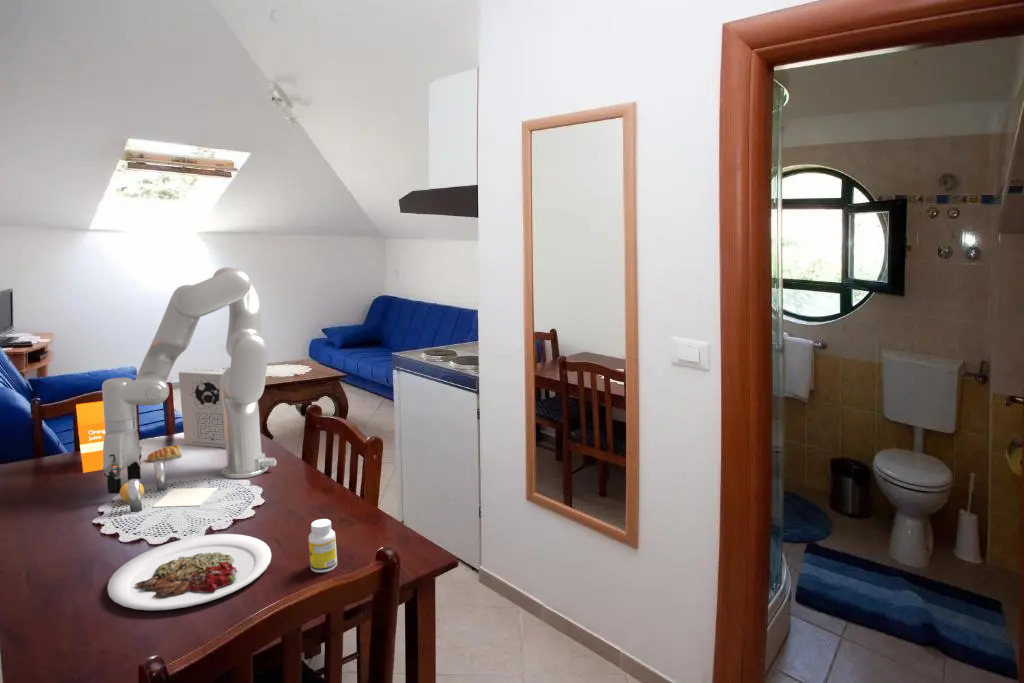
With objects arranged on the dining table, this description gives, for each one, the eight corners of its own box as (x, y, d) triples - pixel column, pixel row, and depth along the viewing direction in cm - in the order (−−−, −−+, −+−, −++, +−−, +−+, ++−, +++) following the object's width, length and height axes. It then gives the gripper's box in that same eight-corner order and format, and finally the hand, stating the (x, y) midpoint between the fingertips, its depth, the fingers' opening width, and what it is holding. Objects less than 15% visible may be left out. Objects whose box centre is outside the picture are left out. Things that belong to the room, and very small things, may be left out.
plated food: (163, 541, 147) (162, 527, 147) (293, 542, 146) (292, 528, 146) (71, 616, 118) (69, 599, 117) (232, 619, 117) (231, 601, 116)
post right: (168, 488, 178) (166, 460, 177) (164, 491, 175) (161, 463, 174) (159, 488, 178) (156, 460, 176) (154, 492, 175) (151, 464, 174)
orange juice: (117, 467, 195) (111, 402, 192) (82, 472, 190) (75, 407, 187) (116, 459, 201) (109, 397, 198) (82, 465, 196) (75, 401, 193)
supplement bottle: (313, 561, 137) (310, 517, 135) (339, 560, 137) (337, 516, 136) (307, 574, 132) (304, 529, 130) (334, 572, 132) (332, 527, 131)
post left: (144, 508, 164) (141, 478, 163) (139, 512, 162) (135, 482, 161) (133, 508, 164) (130, 478, 163) (128, 513, 162) (125, 482, 160)
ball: (128, 496, 172) (149, 494, 172) (117, 506, 167) (139, 505, 167) (124, 477, 170) (145, 476, 171) (113, 487, 165) (135, 485, 165)
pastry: (150, 465, 197) (149, 453, 196) (145, 460, 202) (143, 448, 201) (183, 458, 203) (182, 446, 203) (177, 453, 208) (176, 441, 208)
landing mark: (218, 488, 178) (218, 487, 177) (200, 506, 166) (199, 505, 166) (173, 489, 177) (173, 488, 177) (152, 507, 165) (151, 506, 165)
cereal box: (255, 442, 218) (249, 370, 214) (240, 449, 211) (235, 374, 207) (200, 438, 223) (194, 367, 219) (184, 444, 216) (177, 371, 212)
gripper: (124, 416, 179) (127, 475, 181) (87, 433, 162) (91, 498, 164) (151, 416, 180) (155, 475, 182) (117, 433, 162) (121, 498, 165)
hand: (124, 486), depth 173 cm, fingers open, 9 cm apart
